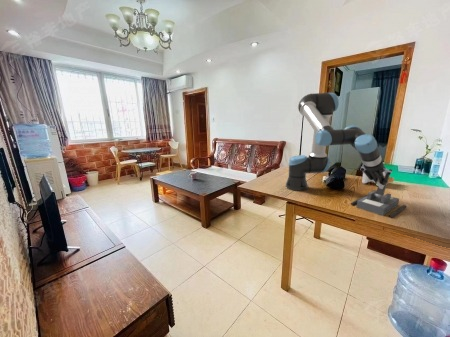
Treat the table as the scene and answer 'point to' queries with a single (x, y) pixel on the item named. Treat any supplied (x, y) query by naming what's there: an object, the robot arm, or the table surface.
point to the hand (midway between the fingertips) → (381, 186)
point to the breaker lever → (380, 192)
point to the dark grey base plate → (391, 214)
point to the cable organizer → (366, 179)
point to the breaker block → (377, 203)
